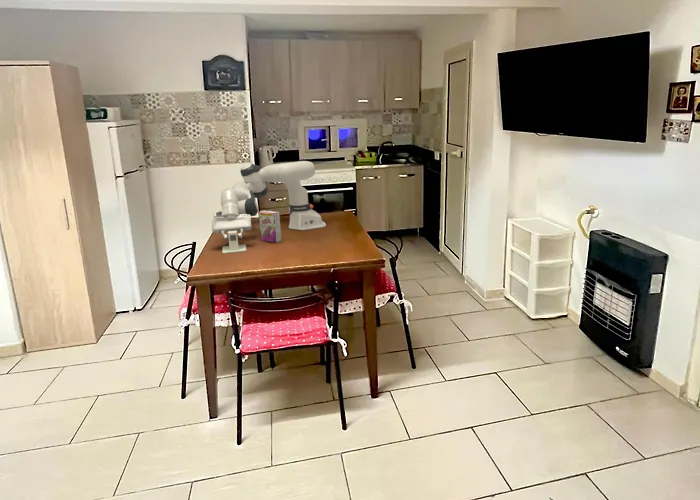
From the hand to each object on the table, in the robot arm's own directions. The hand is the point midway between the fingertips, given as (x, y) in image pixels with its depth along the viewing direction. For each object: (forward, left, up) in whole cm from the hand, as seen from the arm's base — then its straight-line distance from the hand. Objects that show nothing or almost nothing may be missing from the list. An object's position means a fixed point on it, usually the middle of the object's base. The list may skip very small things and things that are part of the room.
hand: (233, 237), depth 251 cm
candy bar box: (-20, -10, -7) cm, 23 cm away
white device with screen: (0, -1, -6) cm, 6 cm away
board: (0, -1, -6) cm, 6 cm away
